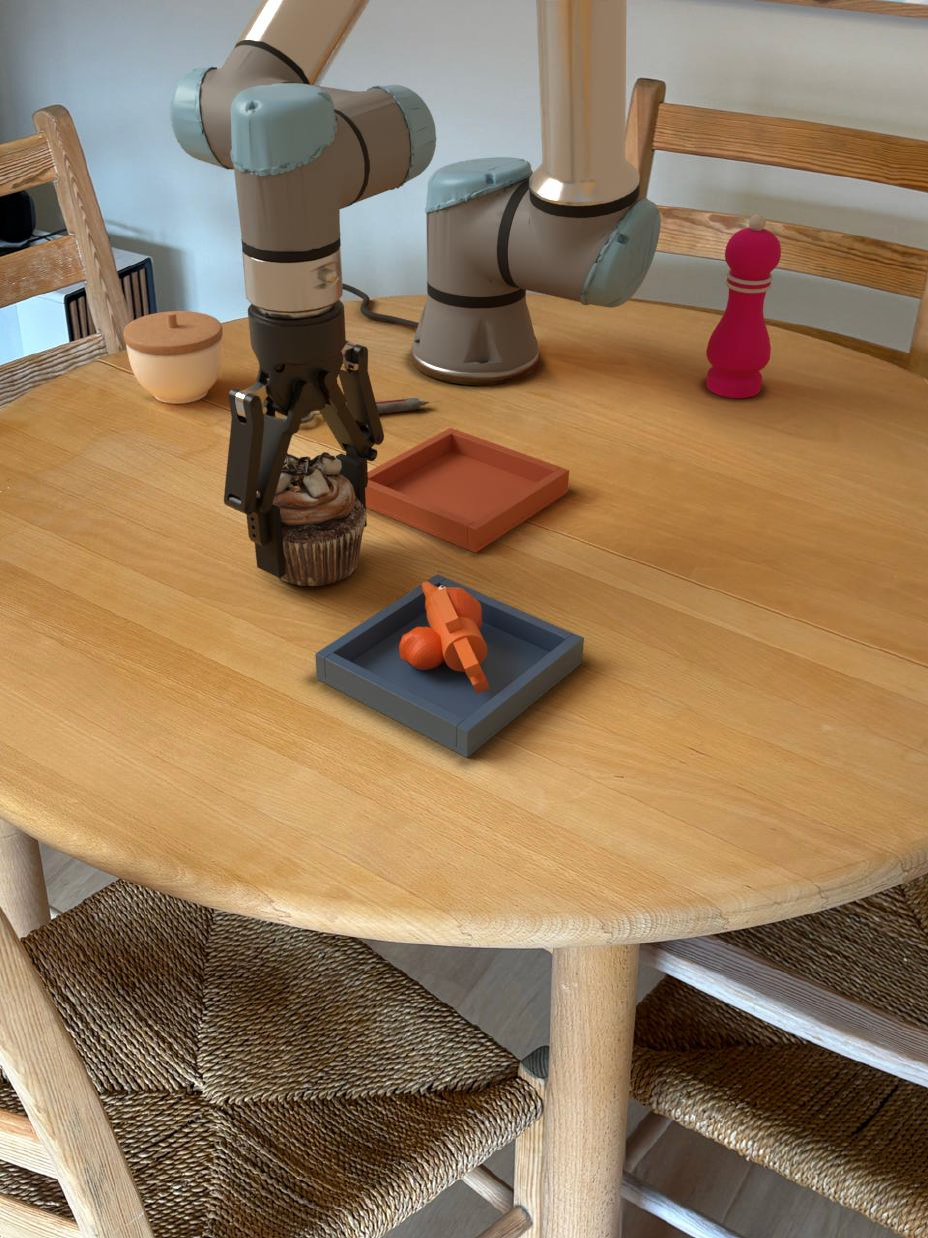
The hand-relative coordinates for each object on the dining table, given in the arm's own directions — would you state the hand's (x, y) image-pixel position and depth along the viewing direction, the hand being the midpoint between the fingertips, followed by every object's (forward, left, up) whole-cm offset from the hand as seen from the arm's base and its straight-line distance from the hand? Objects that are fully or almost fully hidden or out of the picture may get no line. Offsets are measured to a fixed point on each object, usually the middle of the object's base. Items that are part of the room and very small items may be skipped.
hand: (313, 546), depth 110 cm
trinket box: (-38, +18, -2) cm, 42 cm away
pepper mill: (+10, +60, -3) cm, 61 cm away
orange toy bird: (+18, -4, -2) cm, 19 cm away
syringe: (-18, +27, -3) cm, 32 cm away
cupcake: (0, 0, -2) cm, 2 cm away
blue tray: (+19, -4, -2) cm, 20 cm away
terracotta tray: (+2, +19, -2) cm, 19 cm away
